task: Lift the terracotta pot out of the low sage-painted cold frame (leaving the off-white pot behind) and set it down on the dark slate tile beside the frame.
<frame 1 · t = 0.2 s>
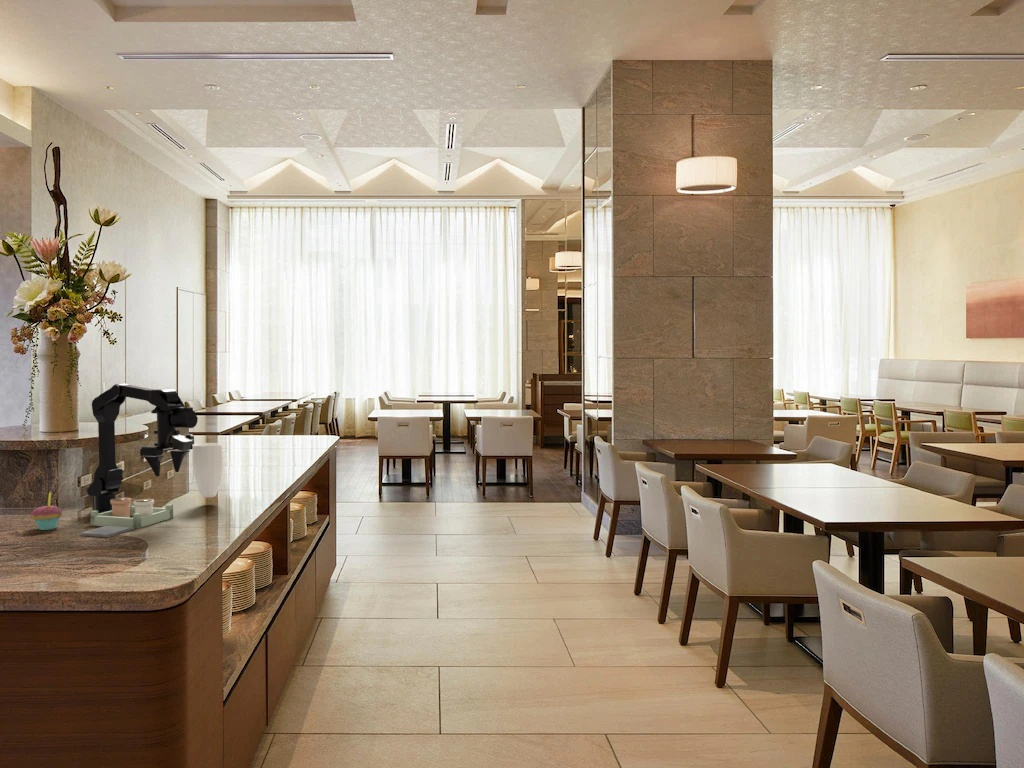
hand: (167, 474, 263), 14 cm above the counter, fingers open, 9 cm apart
slate tile: (107, 532, 241), on the counter
cold frame: (132, 521, 256), on the counter
cup: (209, 504, 283), on the counter
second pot: (144, 522, 255), resting in cold frame
terracotta pot: (121, 520, 258), resting in cold frame
cupcake: (47, 529, 247), on the counter
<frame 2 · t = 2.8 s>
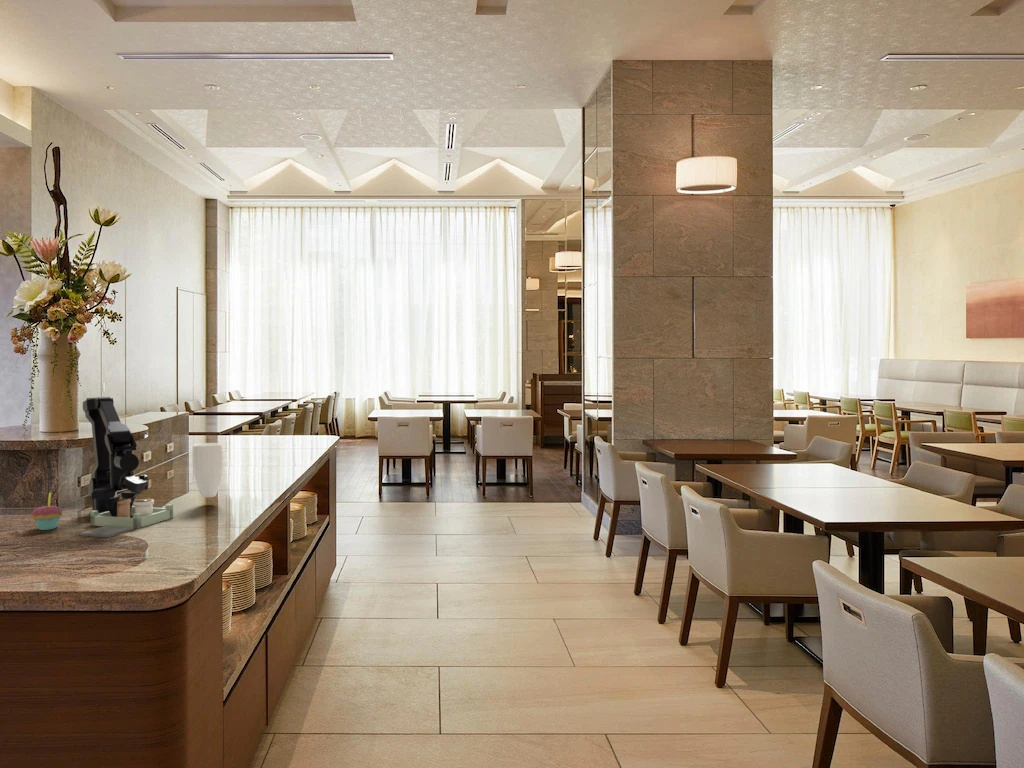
hand: (121, 516, 258), 2 cm above the counter, fingers closed on terracotta pot, 5 cm apart
terracotta pot: (121, 520, 258), resting in cold frame, touching gripper
everything else where it was.
when the fingers open (3 cm above the counter, at t = 7.0 s): terracotta pot stays where it is, resting on slate tile.
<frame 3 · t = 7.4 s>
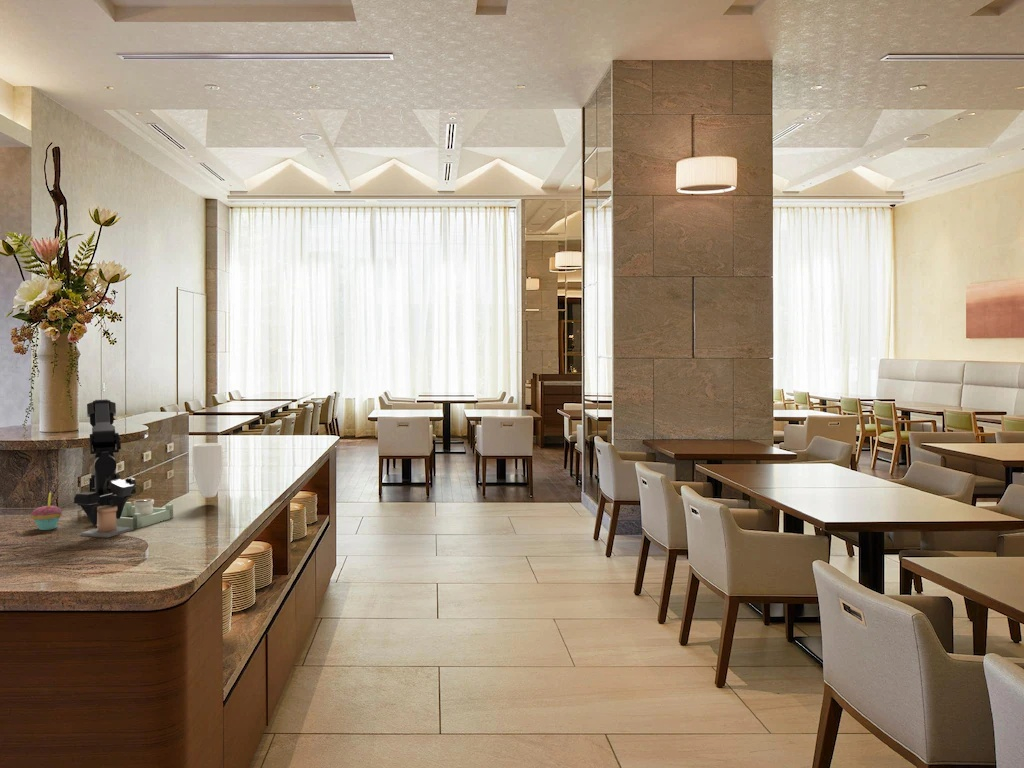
hand: (106, 521, 241), 3 cm above the counter, fingers open, 9 cm apart
terracotta pot: (107, 530, 241), point 1 cm above the counter, touching slate tile
everything else where it was.
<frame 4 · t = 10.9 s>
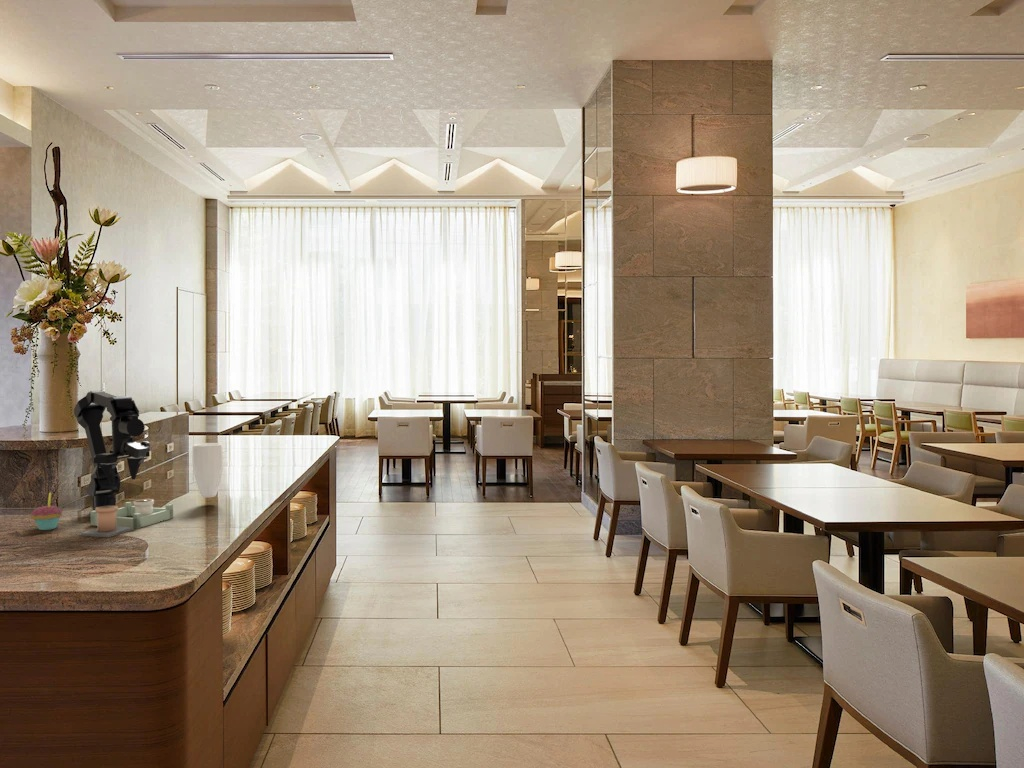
hand: (123, 481, 262), 12 cm above the counter, fingers open, 9 cm apart
nothing on the counter moved.
at the end: terracotta pot inside the target area on the slate tile (0.0 cm from its centre), point 0.8 cm above the slate tile's base; terracotta pot tilted 1°; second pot inside the target area on the cold frame (4.5 cm from its centre), point 0.0 cm above the cold frame's base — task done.
